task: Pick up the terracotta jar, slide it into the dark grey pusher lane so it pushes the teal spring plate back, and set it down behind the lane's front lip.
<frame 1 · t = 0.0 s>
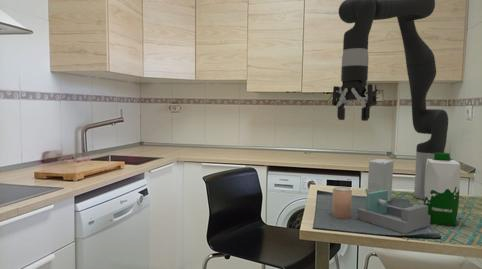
hand: (352, 120, 107), 29 cm above the table, tool pointing down, fingers open, 8 cm apart
jar: (341, 216, 109), on the table
lane: (392, 222, 103), on the table
milk carton: (439, 221, 105), on the table
skincare box: (379, 202, 127), on the table
pusher: (380, 203, 106), point 4 cm above the table, slide at 0.0 cm
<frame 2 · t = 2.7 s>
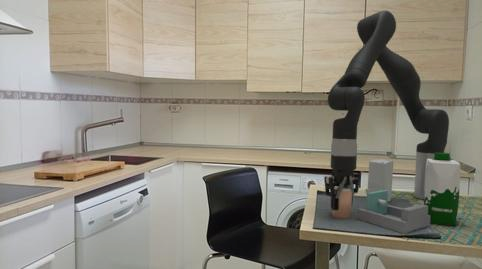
hand: (341, 208, 108), 2 cm above the table, tool pointing down, fingers closed on jar, 5 cm apart
jar: (341, 215, 109), on the table, touching gripper
everything else where it was.
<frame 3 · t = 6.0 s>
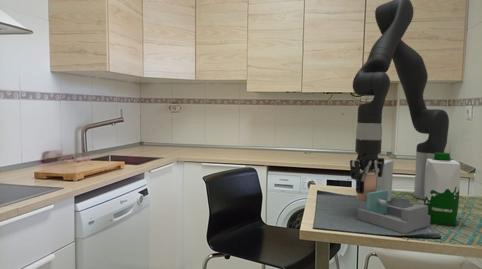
hand: (366, 191, 110), 7 cm above the table, tool pointing down, fingers closed on jar, 5 cm apart
jar: (365, 199, 111), point 5 cm above the table, touching gripper
everything else where it was.
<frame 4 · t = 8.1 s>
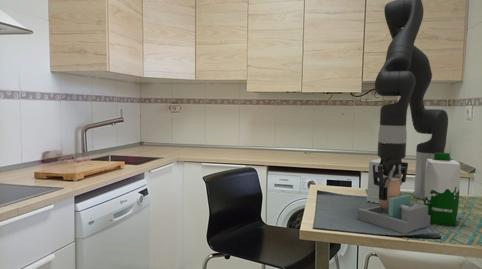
hand: (389, 198, 104), 7 cm above the table, tool pointing down, fingers closed on jar, 5 cm apart
jar: (388, 206, 104), point 4 cm above the table, touching gripper, pusher
pusher: (402, 209, 100), point 4 cm above the table, slide at 7.3 cm, touching jar
everything else where it was.
when the fingers open (4 cm above the table, at t = 9.5 s): jar stays where it is, resting on lane, pusher.
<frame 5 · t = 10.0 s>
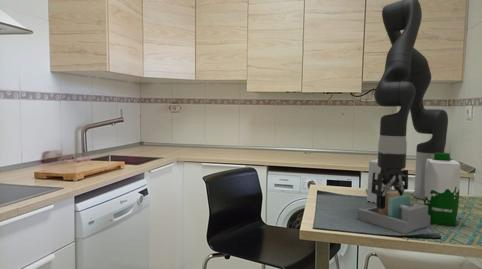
hand: (389, 206, 104), 4 cm above the table, tool pointing down, fingers open, 8 cm apart
jar: (387, 219, 104), resting on lane, pusher
everything else where it was.
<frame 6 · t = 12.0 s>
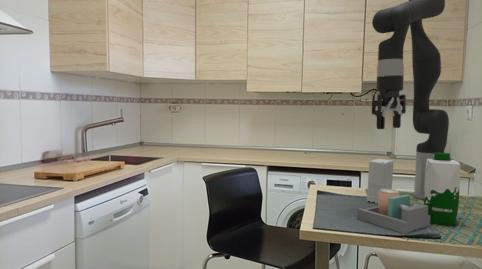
hand: (388, 128, 109), 27 cm above the table, tool pointing down, fingers open, 8 cm apart
nothing on the table moved.
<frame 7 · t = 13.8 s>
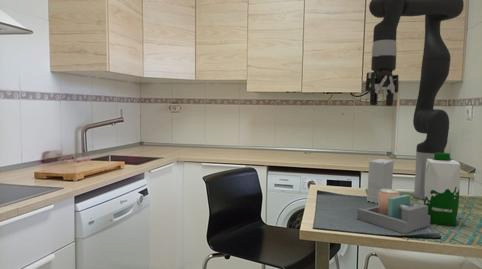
hand: (381, 105, 118), 34 cm above the table, tool pointing down, fingers open, 8 cm apart
nothing on the table moved.
at the end: jar inside the target area (1.0 cm from its centre), point 0.5 cm above the table; jar tilted 0°; pusher slide at 7.1 cm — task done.
